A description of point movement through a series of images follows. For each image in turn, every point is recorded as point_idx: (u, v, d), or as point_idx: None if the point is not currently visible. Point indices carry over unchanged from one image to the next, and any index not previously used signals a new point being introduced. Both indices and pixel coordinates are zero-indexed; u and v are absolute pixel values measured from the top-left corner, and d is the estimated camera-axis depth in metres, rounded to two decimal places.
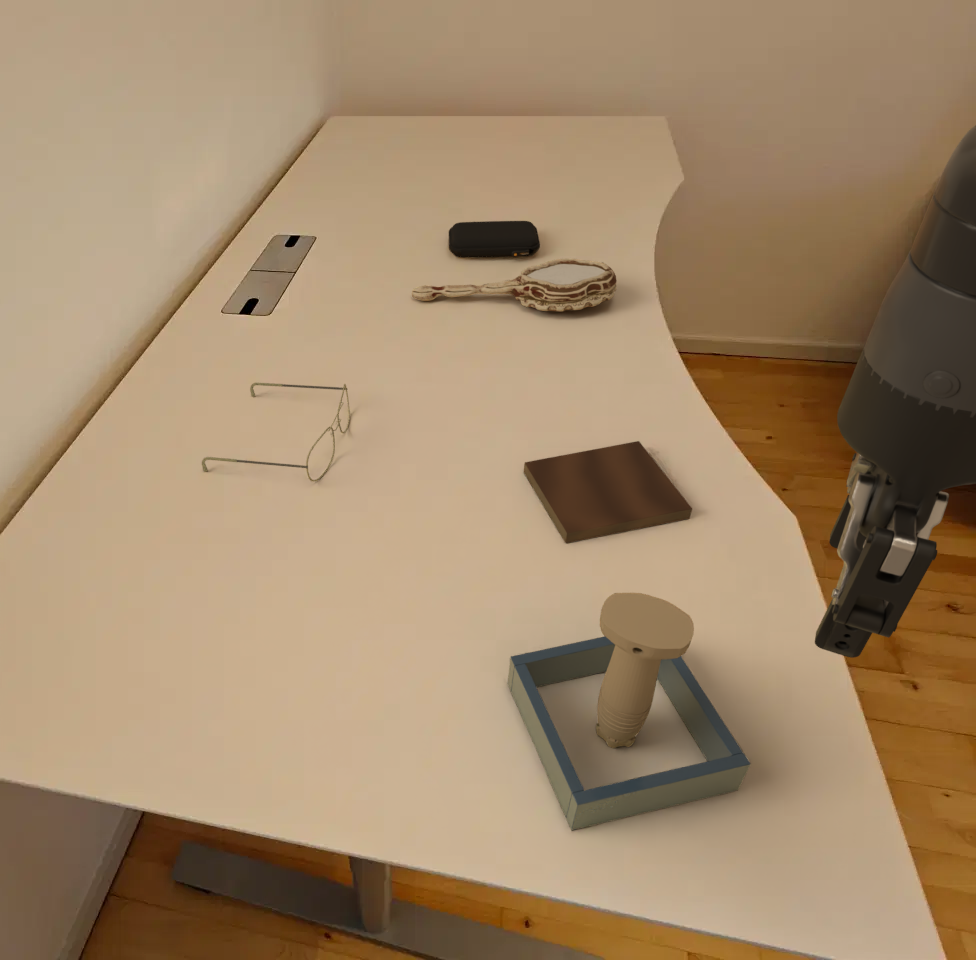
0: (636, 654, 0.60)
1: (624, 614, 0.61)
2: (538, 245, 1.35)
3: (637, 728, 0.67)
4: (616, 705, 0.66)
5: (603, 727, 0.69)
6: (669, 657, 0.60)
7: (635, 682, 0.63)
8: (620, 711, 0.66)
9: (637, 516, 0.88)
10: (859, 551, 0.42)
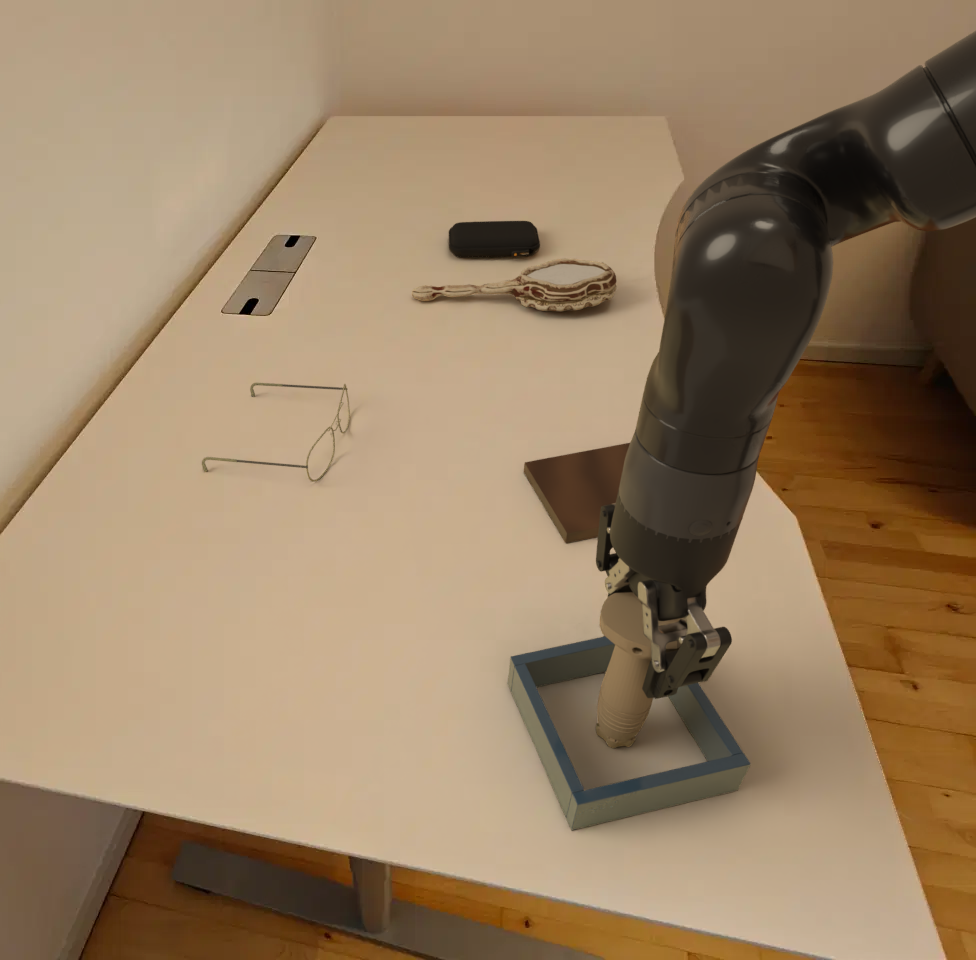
0: (636, 654, 0.60)
1: (624, 614, 0.61)
2: (538, 245, 1.35)
3: (637, 728, 0.67)
4: (616, 705, 0.66)
5: (603, 727, 0.69)
6: None
7: (635, 682, 0.63)
8: (620, 711, 0.66)
9: None
10: (663, 634, 0.57)
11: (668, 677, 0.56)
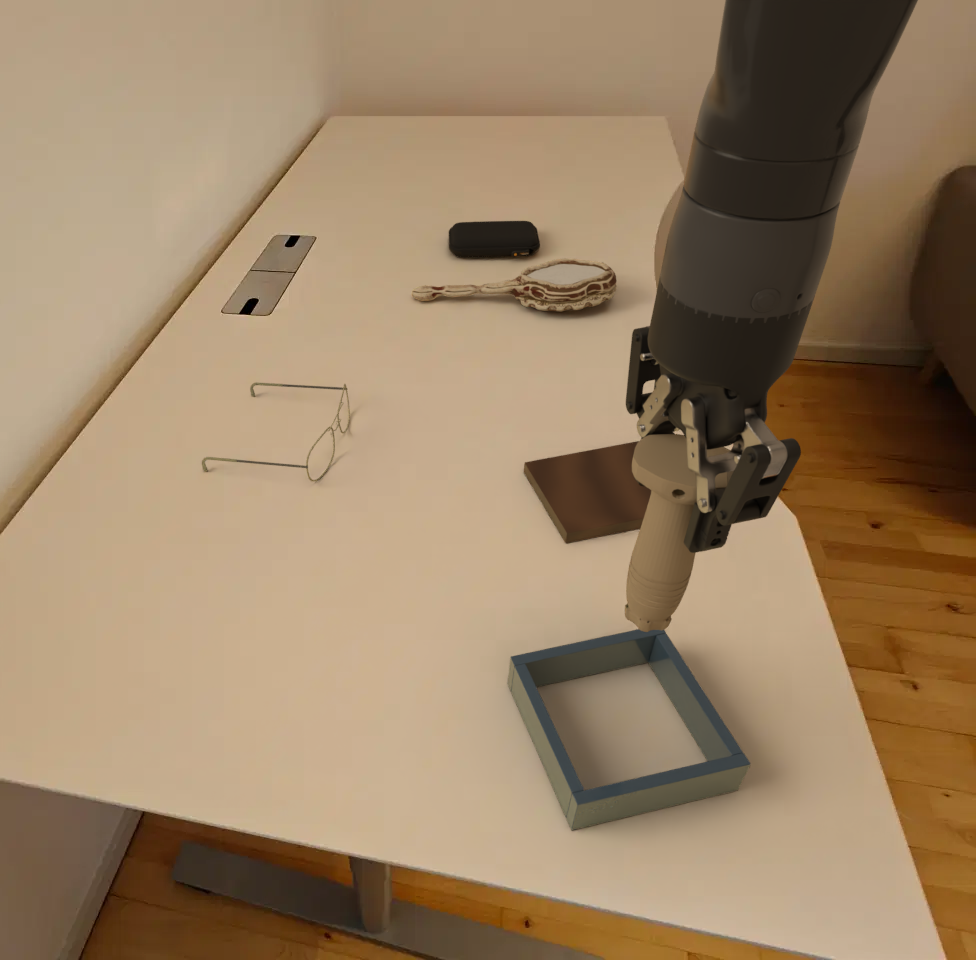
0: (677, 498, 0.51)
1: (661, 455, 0.52)
2: (538, 245, 1.35)
3: (674, 603, 0.58)
4: (650, 573, 0.56)
5: (634, 606, 0.59)
6: None
7: (674, 541, 0.54)
8: (654, 580, 0.56)
9: (637, 516, 0.88)
10: (711, 464, 0.47)
11: (719, 512, 0.47)
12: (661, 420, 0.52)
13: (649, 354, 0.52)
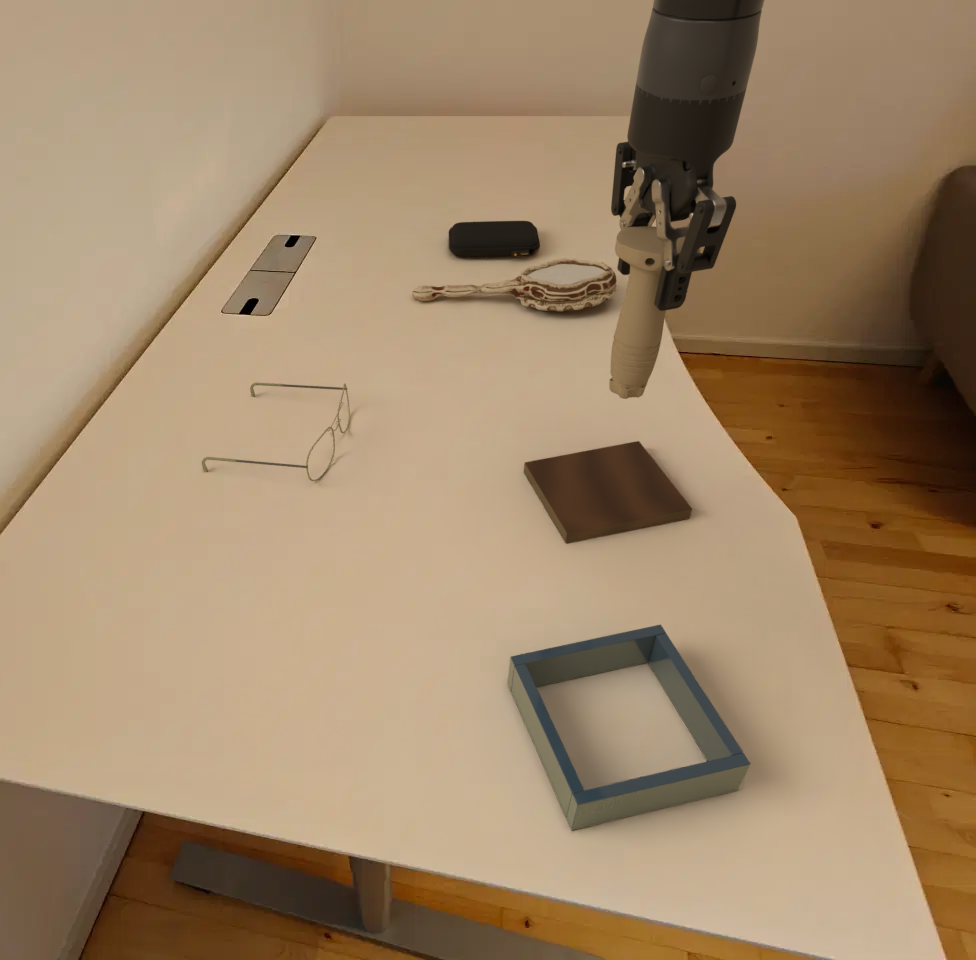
0: (648, 267, 0.67)
1: (637, 238, 0.69)
2: (538, 245, 1.35)
3: (647, 369, 0.74)
4: (628, 341, 0.73)
5: (616, 375, 0.76)
6: None
7: (647, 308, 0.70)
8: (632, 347, 0.73)
9: (637, 516, 0.88)
10: (674, 229, 0.64)
11: (679, 263, 0.64)
12: (638, 212, 0.69)
13: (629, 162, 0.69)
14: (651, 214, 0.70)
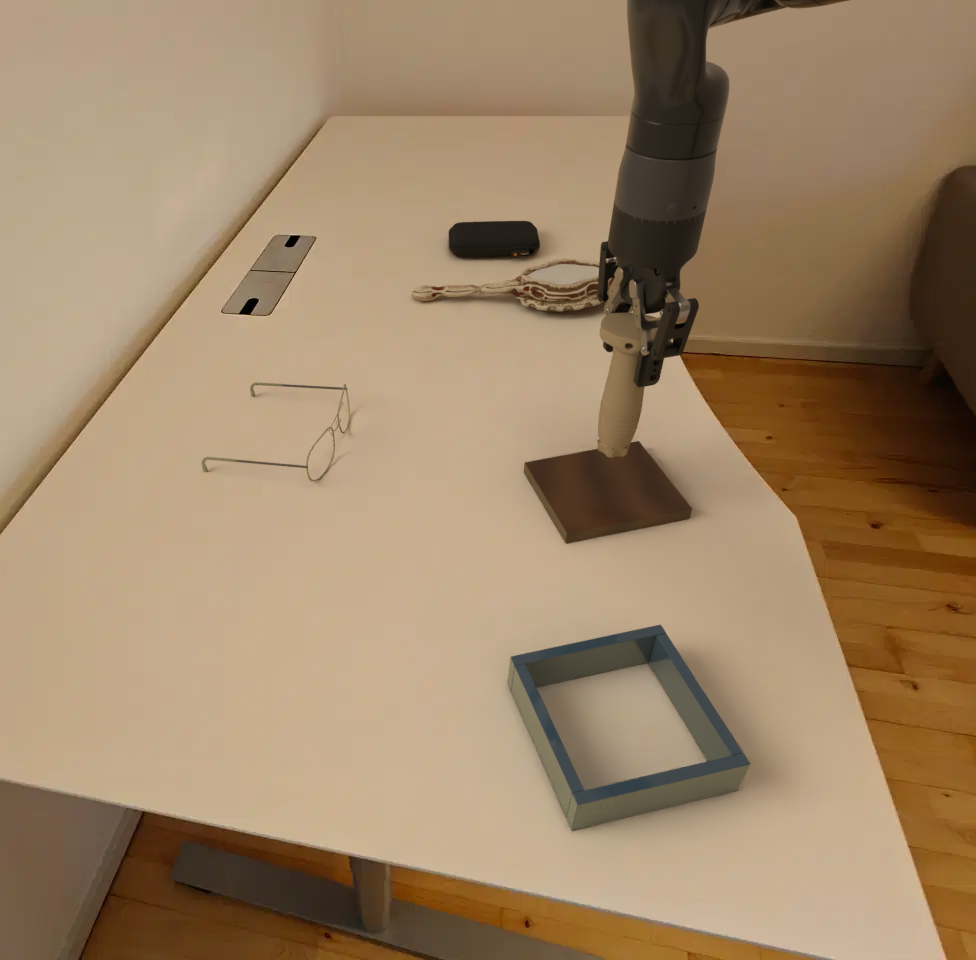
0: (628, 350, 0.78)
1: (618, 324, 0.79)
2: (538, 245, 1.35)
3: (629, 433, 0.85)
4: (612, 409, 0.83)
5: (603, 437, 0.86)
6: None
7: (628, 383, 0.81)
8: (616, 415, 0.84)
9: (637, 516, 0.88)
10: (648, 321, 0.75)
11: (652, 351, 0.74)
12: (619, 301, 0.80)
13: (611, 258, 0.80)
14: None
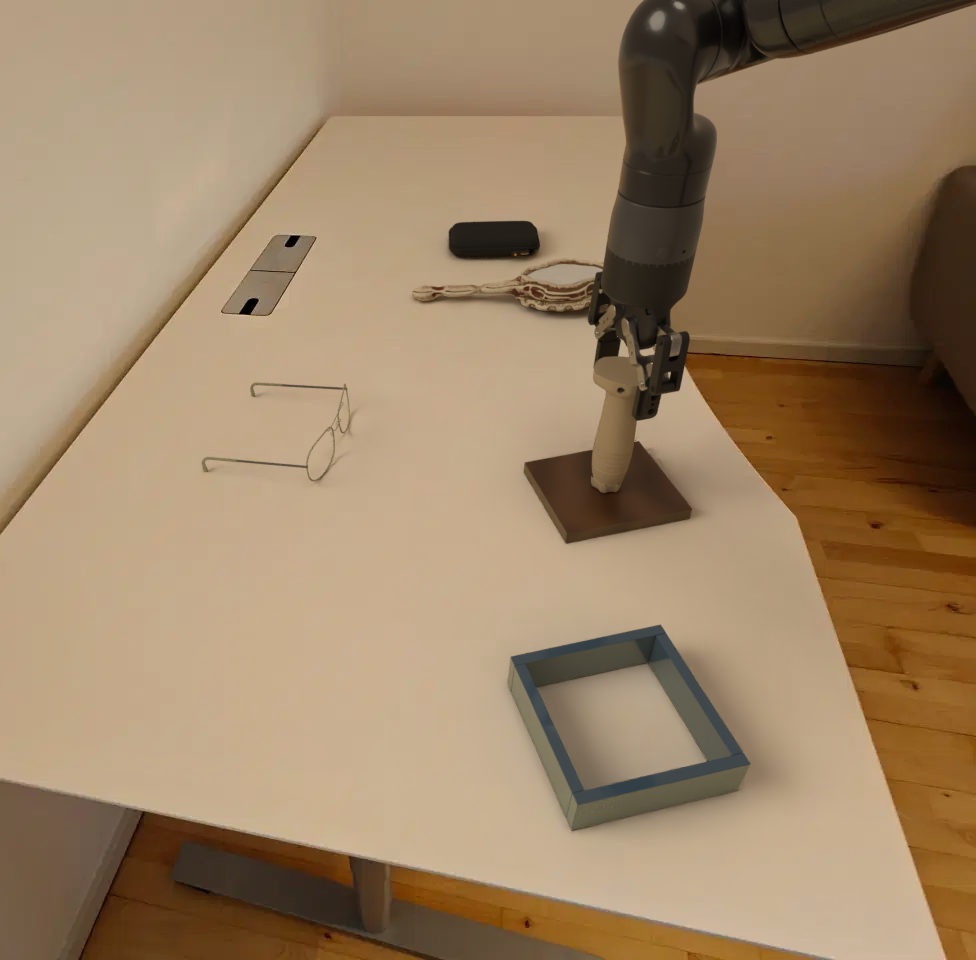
0: (620, 394, 0.81)
1: (611, 368, 0.83)
2: (538, 245, 1.35)
3: (622, 471, 0.88)
4: (605, 448, 0.87)
5: (596, 474, 0.90)
6: None
7: (620, 424, 0.84)
8: (608, 453, 0.87)
9: (637, 516, 0.88)
10: (643, 357, 0.77)
11: (650, 387, 0.76)
12: (609, 330, 0.83)
13: None
14: None
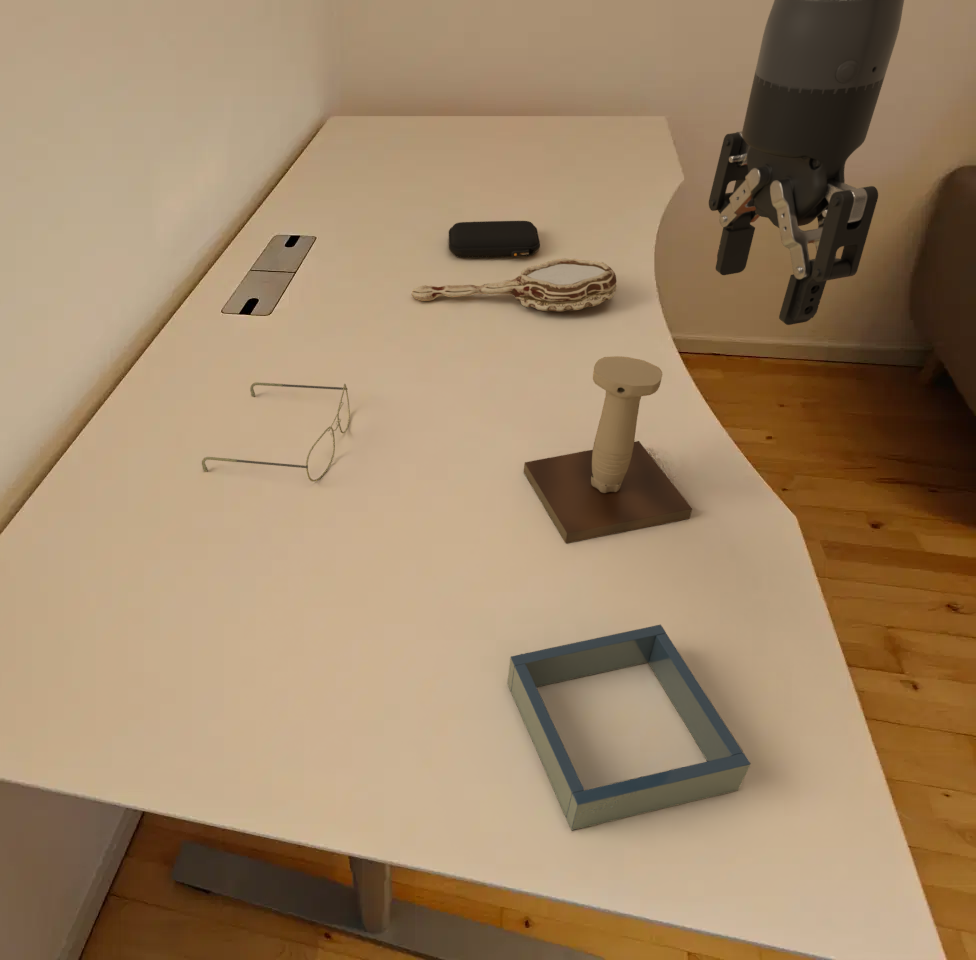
0: (620, 394, 0.81)
1: (611, 368, 0.83)
2: (538, 245, 1.35)
3: (622, 471, 0.88)
4: (605, 448, 0.87)
5: (596, 474, 0.90)
6: (644, 394, 0.81)
7: (620, 424, 0.84)
8: (608, 453, 0.87)
9: (637, 516, 0.88)
10: (802, 232, 0.57)
11: (815, 270, 0.56)
12: (743, 210, 0.63)
13: (737, 156, 0.62)
14: None
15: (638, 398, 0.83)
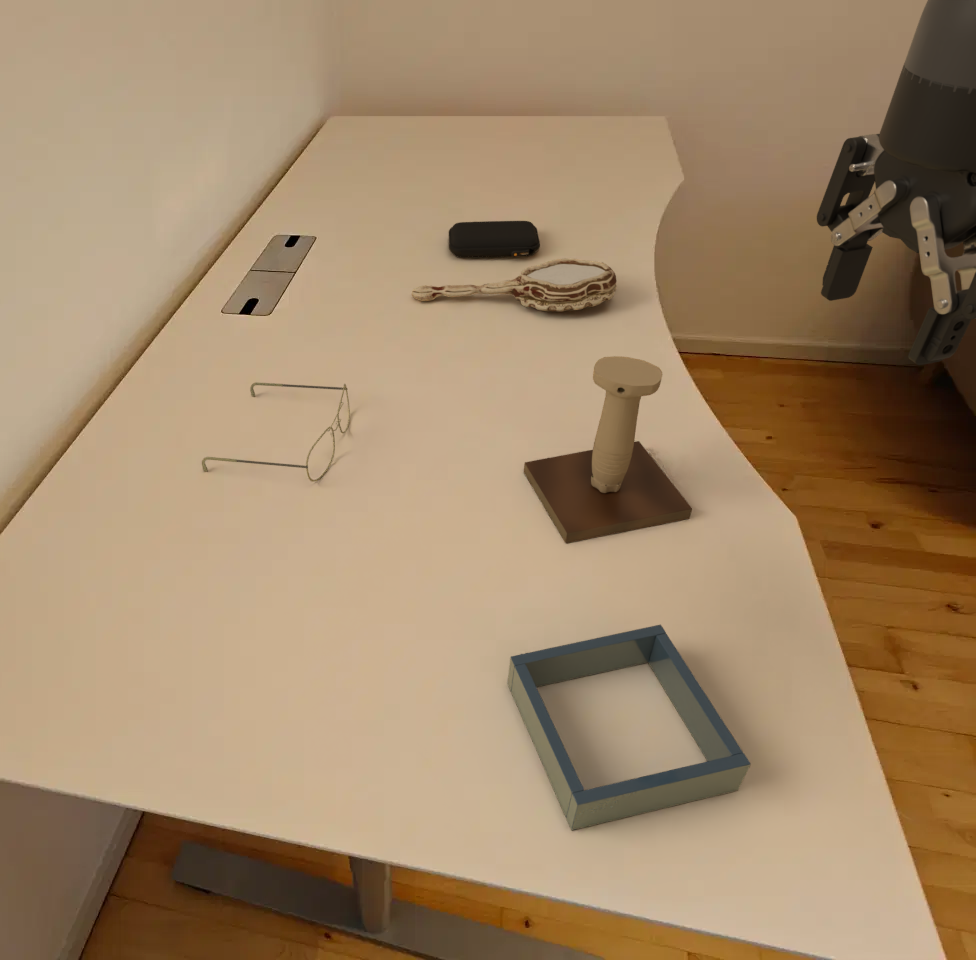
0: (620, 394, 0.81)
1: (611, 368, 0.83)
2: (538, 245, 1.35)
3: (622, 471, 0.88)
4: (605, 448, 0.87)
5: (596, 474, 0.90)
6: (644, 394, 0.81)
7: (620, 424, 0.84)
8: (608, 453, 0.87)
9: (637, 516, 0.88)
10: (950, 259, 0.48)
11: (967, 306, 0.47)
12: (865, 228, 0.54)
13: (860, 165, 0.53)
14: (877, 228, 0.55)
15: (638, 398, 0.83)
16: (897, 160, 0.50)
